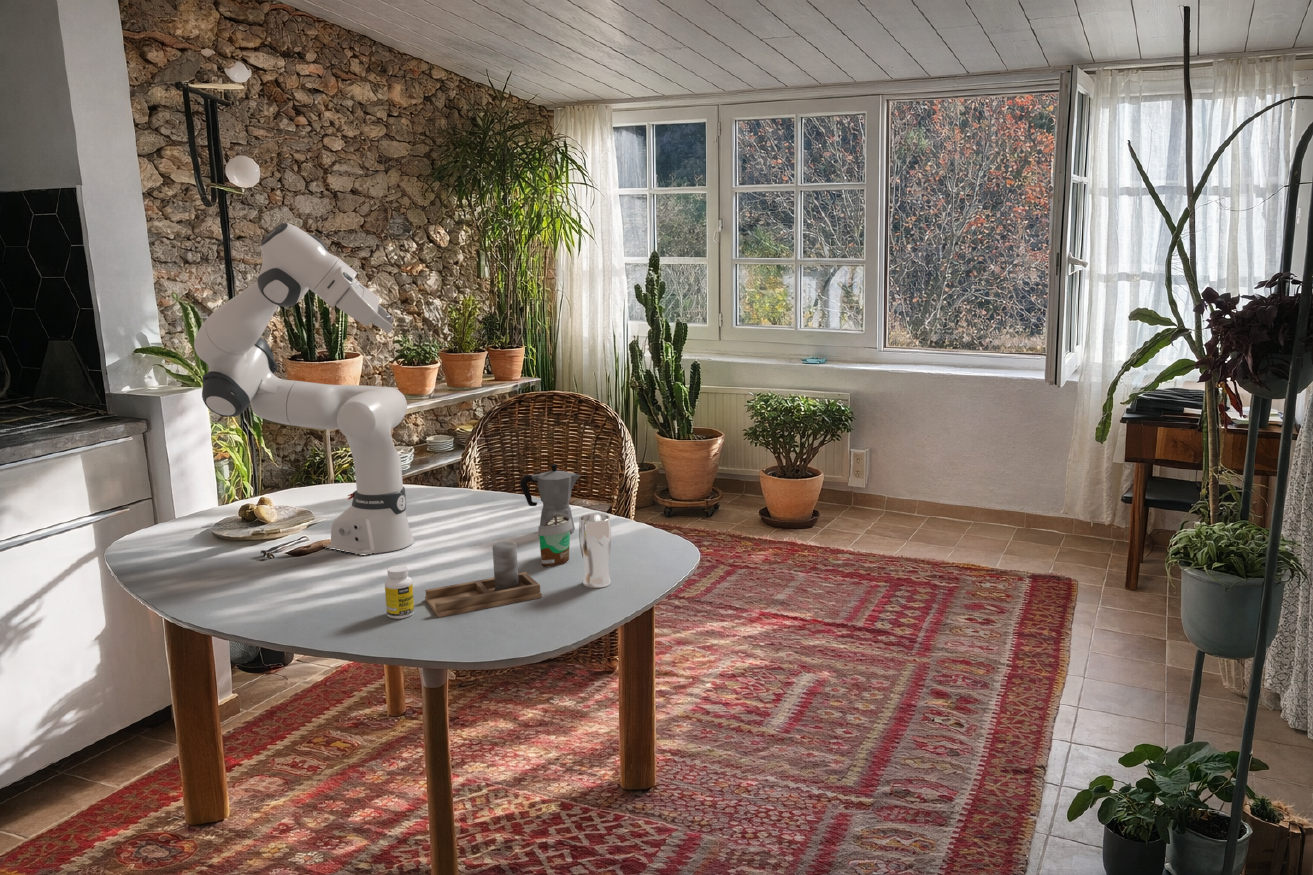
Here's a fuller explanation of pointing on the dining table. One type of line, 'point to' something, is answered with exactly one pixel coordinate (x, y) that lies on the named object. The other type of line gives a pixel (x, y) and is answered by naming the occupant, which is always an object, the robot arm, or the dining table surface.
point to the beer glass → (595, 549)
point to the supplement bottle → (399, 593)
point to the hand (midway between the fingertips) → (391, 325)
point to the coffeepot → (552, 492)
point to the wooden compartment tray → (487, 587)
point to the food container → (555, 540)
